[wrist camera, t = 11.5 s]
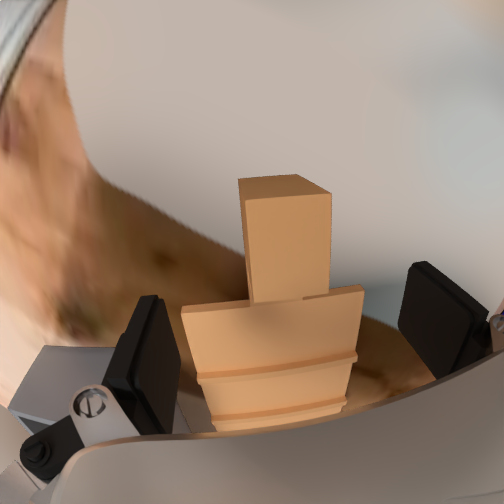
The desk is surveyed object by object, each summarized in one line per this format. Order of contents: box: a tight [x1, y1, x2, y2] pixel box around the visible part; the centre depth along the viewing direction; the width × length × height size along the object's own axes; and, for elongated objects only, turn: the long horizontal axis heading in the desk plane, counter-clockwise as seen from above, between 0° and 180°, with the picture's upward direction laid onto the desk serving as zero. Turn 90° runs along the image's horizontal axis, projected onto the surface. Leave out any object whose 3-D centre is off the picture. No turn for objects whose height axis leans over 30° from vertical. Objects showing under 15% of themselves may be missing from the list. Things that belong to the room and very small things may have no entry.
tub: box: [8, 346, 191, 435], centre depth 17 cm, size 14×10×7 cm
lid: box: [181, 174, 365, 432], centre depth 16 cm, size 23×11×5 cm, turn 5°
